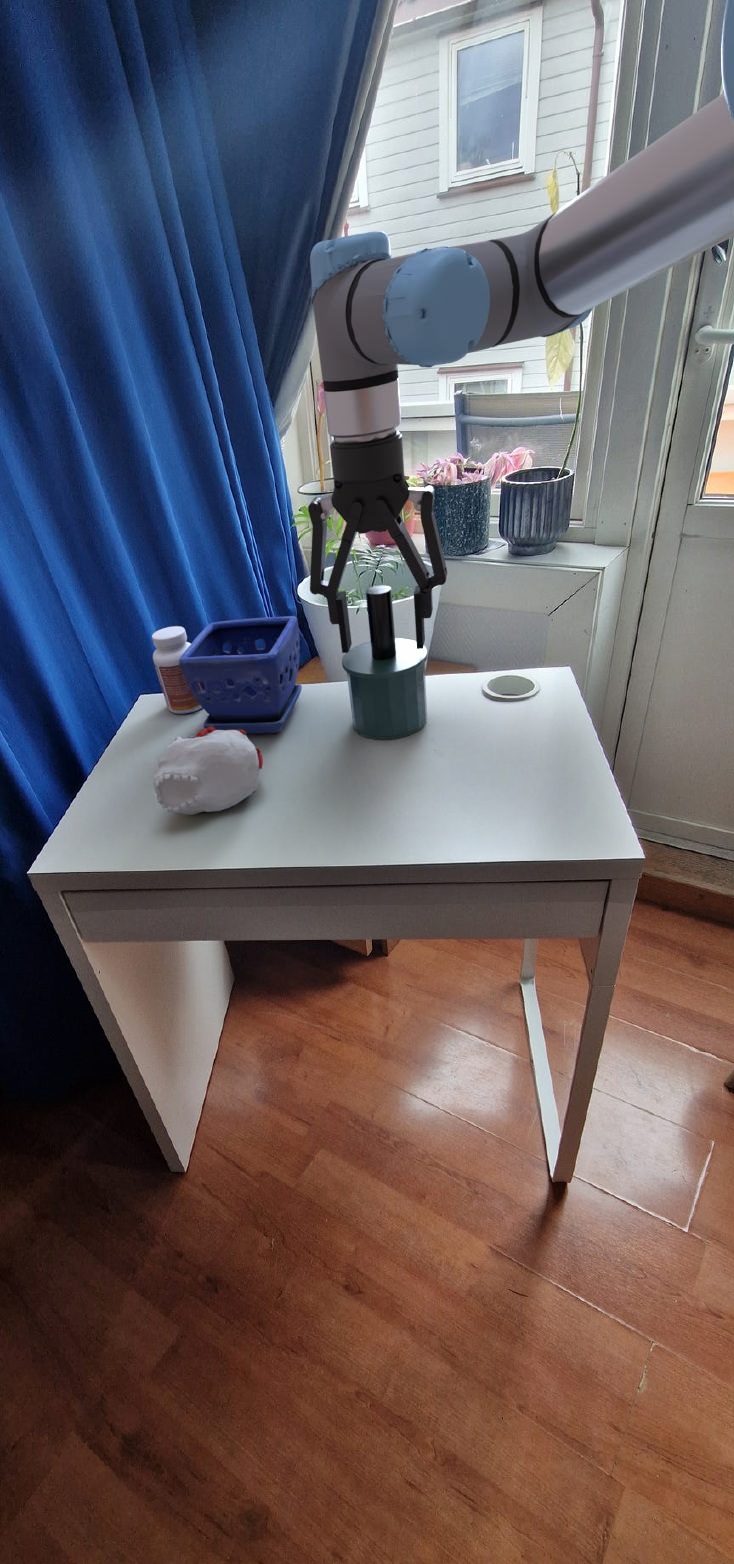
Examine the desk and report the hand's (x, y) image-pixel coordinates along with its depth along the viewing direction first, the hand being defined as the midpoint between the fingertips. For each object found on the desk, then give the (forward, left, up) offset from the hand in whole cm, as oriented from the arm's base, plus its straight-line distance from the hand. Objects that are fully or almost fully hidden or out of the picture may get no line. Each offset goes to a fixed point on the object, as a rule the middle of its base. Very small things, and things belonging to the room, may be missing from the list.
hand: (383, 646), depth 90 cm
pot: (0, 0, -10) cm, 10 cm away
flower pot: (+19, -2, -10) cm, 22 cm away
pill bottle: (+31, -7, -10) cm, 33 cm away
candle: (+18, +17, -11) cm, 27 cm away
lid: (0, 0, -2) cm, 2 cm away
